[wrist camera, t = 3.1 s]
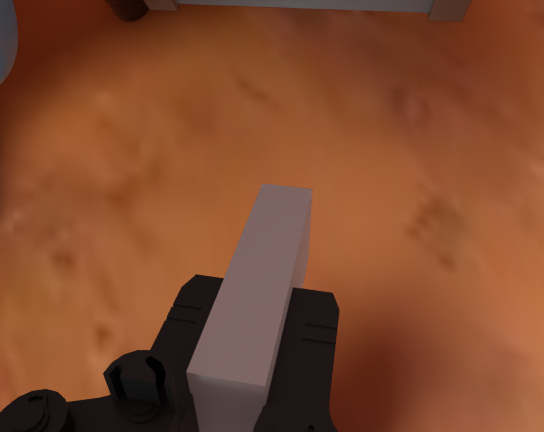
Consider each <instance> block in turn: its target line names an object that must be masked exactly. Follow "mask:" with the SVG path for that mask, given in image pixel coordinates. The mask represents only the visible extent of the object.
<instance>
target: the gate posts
mask: <svg viewBox="0 0 544 432" xmlns="http://www.w3.org/2000/svg"><path fill="white" fill-rule="evenodd" d="M105 1H106V2H107V3H108V5H109V6H110V7H111V8H112V9H113V11H114V12H115V13H116V14H117V16H118V17H119V18H120V19H122V20H124V21H128V22H132V21H136V20H138V19H140V18H142V17H143V16H144V15H145V14H146V12H147V10H148V6H147V5H146V3H145V2H144V0H105Z"/></svg>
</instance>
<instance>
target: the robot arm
mask: <svg viewBox="0 0 544 432" xmlns="http://www.w3.org/2000/svg"><path fill="white" fill-rule="evenodd" d="M17 49H18V25H17V18H16V12H15V8H14V4H13V0H0V84H1V83H2V82H3V81H4V80H5V79H6V78H7V76H8V75H9V73H10V71H11V69H12V67H13V64H14V62H15V59H16V54H17ZM311 205H312V189H307V188H298V187H289V186H279V185H270V184H262V186H261V188H260V191H259V193H258V196H257V198H256V201H255V203H254V206H253V208H252V211H251V213H250V216H249V218H248V220H247V223H246V225H245V228H244V230H243V233H242V235H241V238H240V240H239V243H238V245H237V248H236V250H235V253H234V255H233V258H232V260H231V263H230V265H229V267H228V270H227V272H226V275H225V277H224V278H217V277H210V276H203V275H197V274H196V275H195V276H194V277H193V278H192V279H190V280H189V281H188V282H187V283H186V284H185V285H184V286H183V287H181V289H180V291H179V293H178V295H177V297H176V299H175V301H174V303H173V307H171V309H170V311H169V313H168V315H167V319H166V321H164V323H163V325H162V328H161V330H160V332H159V334H158V336H157V338H156V340H155V342H154V344H153V346H152V348H151V350H137V351H134V352H130V353H127V354H124V355H123V356H121V357H120V358H118V359H117V360H115V361H114V362H112V363H111V364H110V366H109V367H108V368H107V369H106V371H105V372H104V373H103V375H104V377H105V380H106V383H107V385H108V388H109V391H110V393H111V395H109V396H104V397H100V398H94V399H86V400H79V401H71V402H66V400H65V398H63V397H62V396H61V395H60V394H59V393H58V392H56V391H52V390H48V389H43V390H35V391H31V392H29V393H27V394H24V395H22V396H20V397H18V398H17V399H15V400H14V401H13V402H11V403H10V404H9V405H8V406H6V407H5V408H4V409H3V410H2V411H1V412H0V432H337V430H336V428H335V426H334V425H333V423H332V420H331V416H330V413H329V398H330V389H331V381H332V372H333V363H334V354H335V345H336V336H337V327H338V318H339V308H338V305H337V303H336V300H335V297H334V295H333V293H330V292H323V291H316V290H309V289H302V286H303V282H304V277H305V272H306V267H307V262H308V255H309V238H310V221H311Z"/></svg>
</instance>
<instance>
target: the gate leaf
mask: <svg viewBox="0 0 544 432" xmlns="http://www.w3.org/2000/svg"><path fill="white" fill-rule="evenodd" d="M471 1H472V0H144V2H145V3H146V5H147V6H148V8H149V9H150V10H170V11H178V5H179V4H203V5H230V6H258V7H285V8H313V9H340V10H368V11H396V12H423V13H429V17H428V21H453V22H462V20H463V18H464V16H465V14H466V11H467V9H468V7H469V5H470V3H471Z"/></svg>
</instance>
